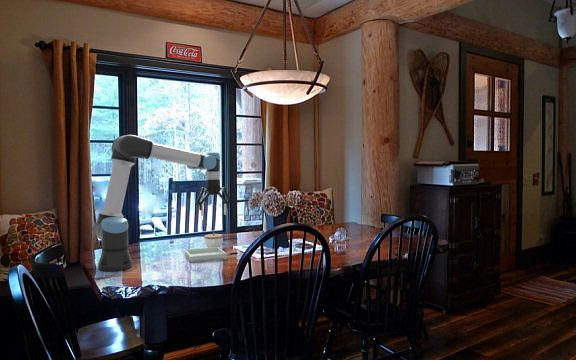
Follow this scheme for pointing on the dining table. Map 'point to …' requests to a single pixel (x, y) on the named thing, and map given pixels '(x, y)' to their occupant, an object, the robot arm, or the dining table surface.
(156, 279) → the dining table surface
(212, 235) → the lidded jar
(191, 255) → the sage bin
